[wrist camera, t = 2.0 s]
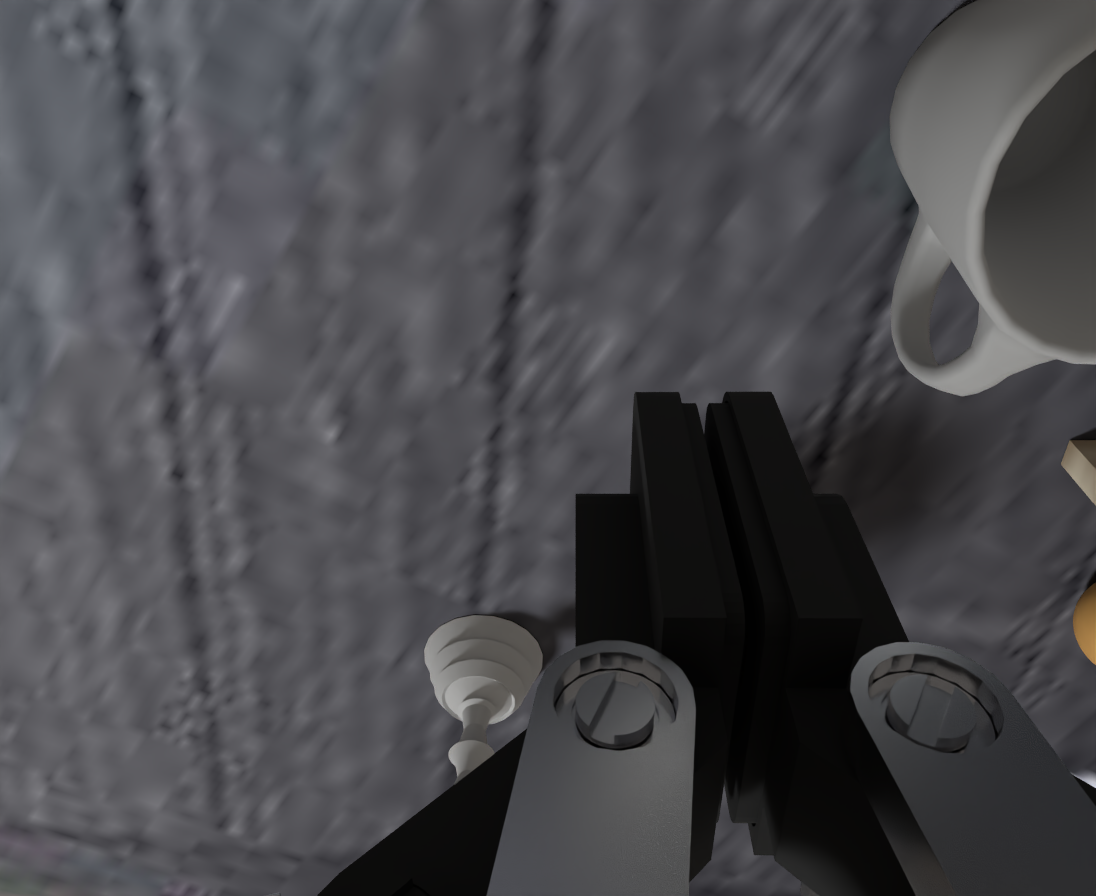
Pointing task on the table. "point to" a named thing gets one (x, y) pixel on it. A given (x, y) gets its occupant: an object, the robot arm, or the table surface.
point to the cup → (1001, 187)
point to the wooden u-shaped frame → (1082, 465)
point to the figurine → (1086, 622)
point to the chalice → (480, 678)
